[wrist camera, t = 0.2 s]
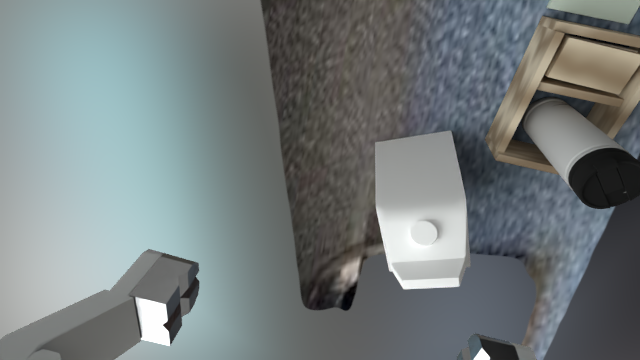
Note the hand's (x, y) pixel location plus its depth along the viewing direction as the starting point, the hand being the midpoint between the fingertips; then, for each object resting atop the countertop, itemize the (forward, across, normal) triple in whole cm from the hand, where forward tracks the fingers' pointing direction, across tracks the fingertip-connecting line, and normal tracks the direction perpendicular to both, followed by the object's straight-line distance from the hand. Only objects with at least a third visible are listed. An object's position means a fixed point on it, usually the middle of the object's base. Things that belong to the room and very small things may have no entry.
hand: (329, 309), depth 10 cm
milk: (+48, -12, +19) cm, 53 cm away
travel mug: (+48, -26, +6) cm, 55 cm away
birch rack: (+48, -26, +3) cm, 55 cm away
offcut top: (+44, -26, -2) cm, 52 cm away
